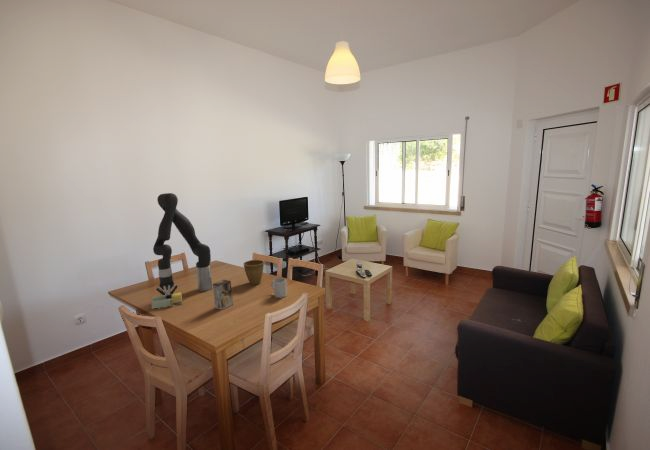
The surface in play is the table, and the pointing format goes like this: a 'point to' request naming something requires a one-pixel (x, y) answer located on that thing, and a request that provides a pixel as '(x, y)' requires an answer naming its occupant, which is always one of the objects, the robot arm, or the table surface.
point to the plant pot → (254, 271)
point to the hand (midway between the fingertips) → (168, 300)
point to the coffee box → (222, 294)
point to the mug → (279, 287)
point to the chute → (163, 302)
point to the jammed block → (177, 297)
